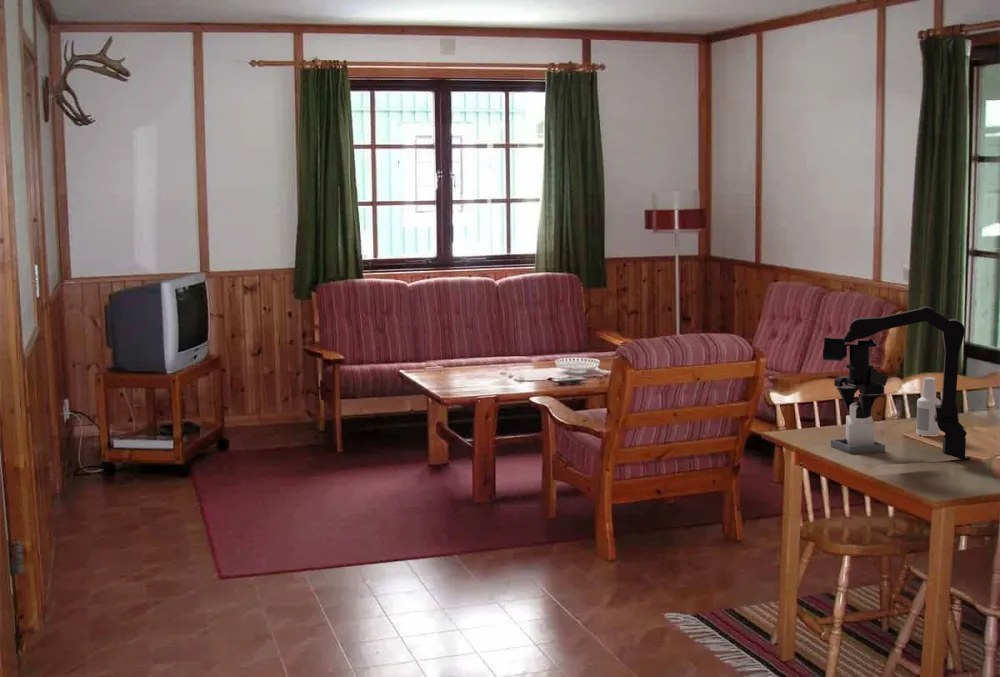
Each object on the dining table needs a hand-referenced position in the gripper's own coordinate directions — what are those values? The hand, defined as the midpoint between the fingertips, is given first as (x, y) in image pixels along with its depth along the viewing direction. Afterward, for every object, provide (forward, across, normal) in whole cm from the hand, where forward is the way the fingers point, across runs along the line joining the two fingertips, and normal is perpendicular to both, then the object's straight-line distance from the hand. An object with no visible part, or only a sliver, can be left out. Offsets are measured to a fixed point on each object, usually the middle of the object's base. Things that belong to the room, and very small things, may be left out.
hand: (858, 414), depth 347 cm
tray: (+10, 0, 0) cm, 10 cm away
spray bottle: (+10, +13, -31) cm, 35 cm away
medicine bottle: (+9, +1, -2) cm, 9 cm away
